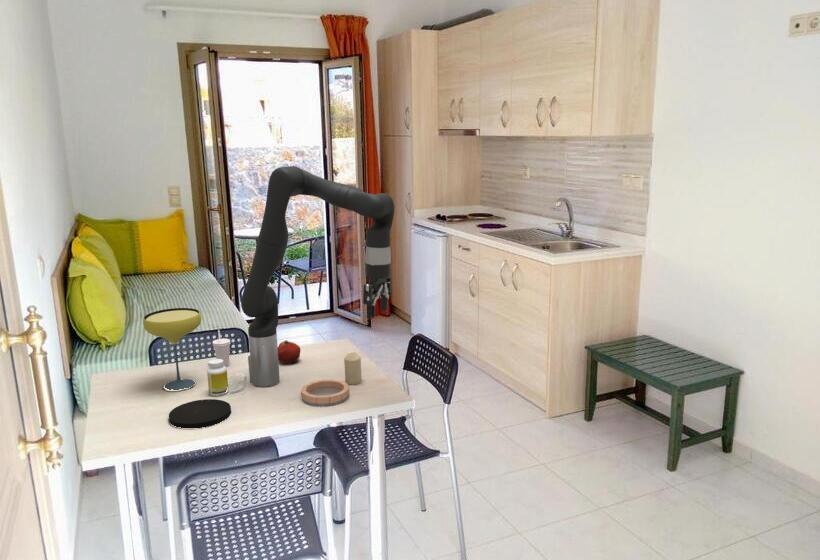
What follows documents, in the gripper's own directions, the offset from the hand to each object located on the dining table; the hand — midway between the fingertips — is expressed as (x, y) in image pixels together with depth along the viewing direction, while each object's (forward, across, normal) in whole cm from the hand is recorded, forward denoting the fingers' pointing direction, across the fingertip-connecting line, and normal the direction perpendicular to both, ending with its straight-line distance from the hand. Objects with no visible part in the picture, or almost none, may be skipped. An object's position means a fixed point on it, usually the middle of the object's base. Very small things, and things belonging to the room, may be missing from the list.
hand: (377, 314), depth 194 cm
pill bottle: (+31, +11, -52) cm, 62 cm away
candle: (+29, -13, -16) cm, 36 cm away
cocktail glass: (+32, +11, -69) cm, 77 cm away
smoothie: (+31, -10, -68) cm, 75 cm away
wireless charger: (+31, +28, -45) cm, 62 cm away
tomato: (+30, -23, -48) cm, 61 cm away
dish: (+29, +2, -18) cm, 34 cm away
